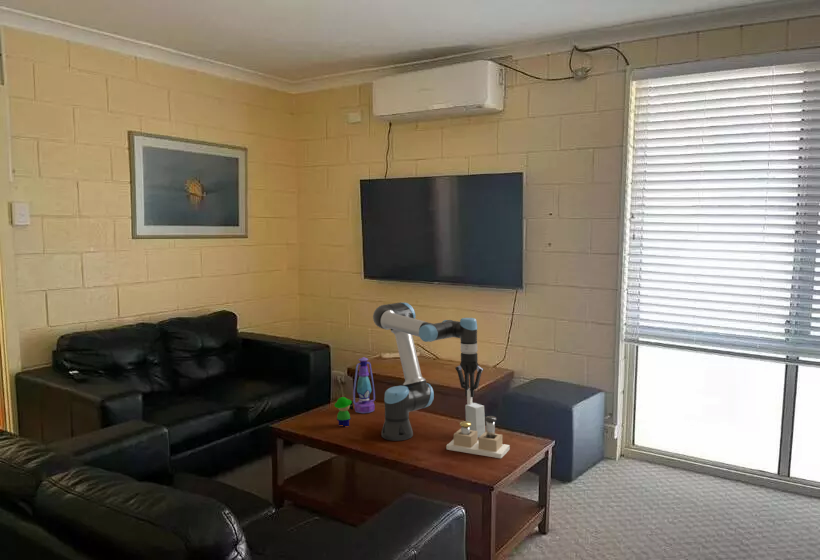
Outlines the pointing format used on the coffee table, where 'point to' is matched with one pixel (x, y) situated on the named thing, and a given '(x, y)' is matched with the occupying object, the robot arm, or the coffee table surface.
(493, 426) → the plug black
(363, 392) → the lantern
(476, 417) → the skincare box
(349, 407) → the toy
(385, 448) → the coffee table surface
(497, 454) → the socket board
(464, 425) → the plug brass
